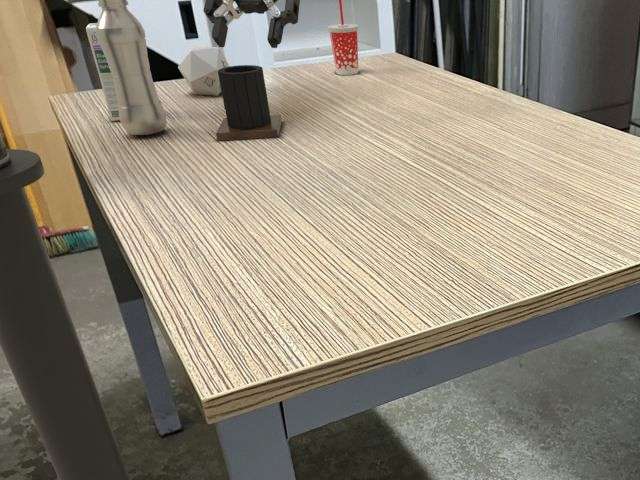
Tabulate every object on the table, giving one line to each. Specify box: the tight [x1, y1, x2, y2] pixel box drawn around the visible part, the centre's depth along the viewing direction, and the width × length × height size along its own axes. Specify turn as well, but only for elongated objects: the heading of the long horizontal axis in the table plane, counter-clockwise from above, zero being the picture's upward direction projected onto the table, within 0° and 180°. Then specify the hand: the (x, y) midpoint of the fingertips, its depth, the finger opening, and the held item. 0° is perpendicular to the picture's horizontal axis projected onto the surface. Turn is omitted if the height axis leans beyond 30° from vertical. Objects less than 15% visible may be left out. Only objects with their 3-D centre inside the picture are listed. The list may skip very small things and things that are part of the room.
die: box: [177, 45, 231, 97], centre depth 132 cm, size 8×9×10 cm
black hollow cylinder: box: [218, 64, 271, 129], centre depth 108 cm, size 6×6×8 cm
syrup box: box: [85, 22, 120, 122], centre depth 116 cm, size 6×6×14 cm
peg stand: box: [216, 114, 282, 142], centre depth 109 cm, size 9×9×8 cm
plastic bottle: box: [96, 0, 167, 136], centre depth 105 cm, size 6×7×20 cm
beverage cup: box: [327, 0, 359, 76], centre depth 144 cm, size 6×6×14 cm
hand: (245, 44), depth 107 cm, fingers open, 8 cm apart
